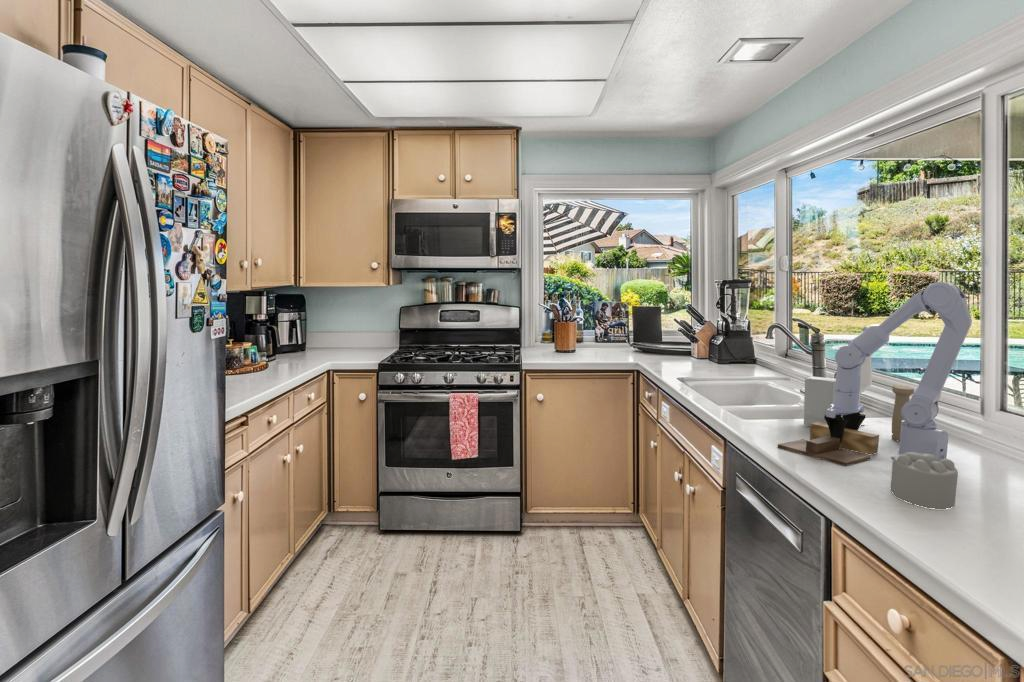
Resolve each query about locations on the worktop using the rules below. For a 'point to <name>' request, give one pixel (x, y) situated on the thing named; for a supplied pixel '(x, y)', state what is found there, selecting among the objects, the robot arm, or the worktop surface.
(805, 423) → the skincare box
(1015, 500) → the worktop surface
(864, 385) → the champagne flute
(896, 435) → the handle
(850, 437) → the oak bar
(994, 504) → the worktop surface
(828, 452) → the walnut board
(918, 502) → the lumpy-topped squat cylinder
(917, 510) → the worktop surface
